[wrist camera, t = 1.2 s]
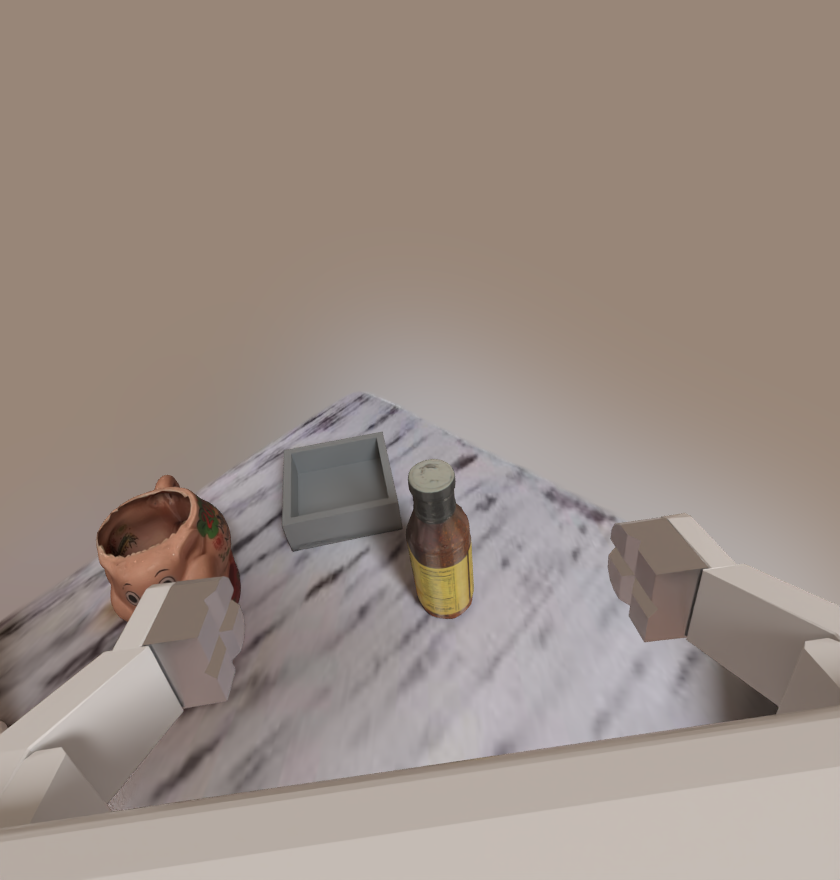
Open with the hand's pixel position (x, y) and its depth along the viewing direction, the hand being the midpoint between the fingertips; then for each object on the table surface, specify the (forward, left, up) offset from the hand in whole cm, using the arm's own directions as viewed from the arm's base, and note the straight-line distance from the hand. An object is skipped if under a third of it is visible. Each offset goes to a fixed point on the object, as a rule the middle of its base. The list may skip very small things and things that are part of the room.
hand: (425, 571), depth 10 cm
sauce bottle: (+4, +24, -40) cm, 47 cm away
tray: (-6, +42, -40) cm, 58 cm away
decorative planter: (-24, +32, -40) cm, 57 cm away
